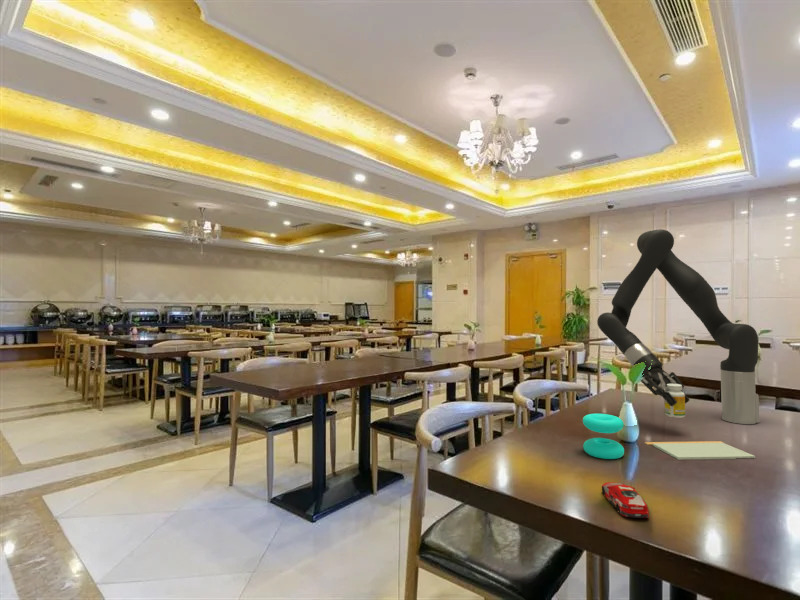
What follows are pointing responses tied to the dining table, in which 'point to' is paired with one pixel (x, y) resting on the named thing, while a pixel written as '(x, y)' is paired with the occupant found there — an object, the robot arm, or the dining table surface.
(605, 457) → the donuts
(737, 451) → the mat
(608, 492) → the race car
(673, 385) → the supplement bottle
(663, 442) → the strip
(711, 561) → the dining table surface
